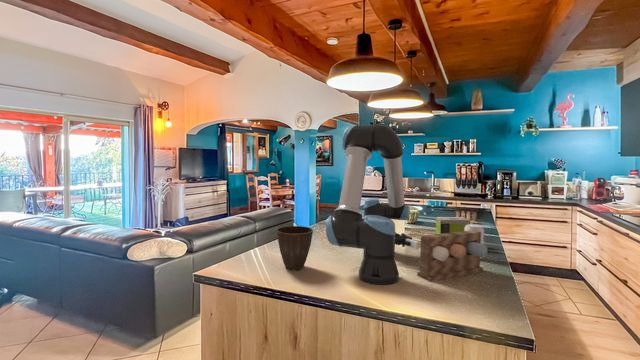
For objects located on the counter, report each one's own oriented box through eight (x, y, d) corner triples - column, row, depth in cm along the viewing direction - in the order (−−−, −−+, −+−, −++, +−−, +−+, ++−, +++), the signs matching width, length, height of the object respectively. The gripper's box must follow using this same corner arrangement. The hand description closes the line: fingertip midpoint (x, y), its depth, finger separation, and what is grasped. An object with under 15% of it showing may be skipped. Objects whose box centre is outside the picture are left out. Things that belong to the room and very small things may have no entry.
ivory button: (438, 262, 123) (438, 248, 123) (421, 255, 131) (421, 243, 131) (448, 260, 125) (448, 247, 125) (430, 254, 134) (431, 241, 133)
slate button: (478, 258, 129) (478, 245, 128) (459, 252, 137) (459, 240, 137) (487, 256, 131) (487, 244, 131) (468, 250, 139) (468, 238, 139)
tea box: (463, 243, 181) (464, 216, 180) (470, 248, 171) (471, 220, 170) (435, 242, 183) (435, 216, 182) (439, 247, 173) (440, 219, 172)
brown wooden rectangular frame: (430, 281, 124) (431, 239, 123) (417, 275, 130) (418, 235, 129) (482, 271, 136) (484, 232, 135) (468, 266, 142) (469, 229, 141)
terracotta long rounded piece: (456, 259, 127) (456, 246, 127) (438, 253, 135) (438, 240, 135) (465, 257, 129) (466, 244, 129) (447, 251, 137) (448, 239, 137)
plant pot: (317, 263, 144) (317, 227, 143) (306, 275, 130) (306, 234, 129) (284, 260, 148) (284, 225, 147) (270, 271, 134) (270, 232, 133)
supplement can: (477, 255, 160) (478, 224, 159) (486, 260, 151) (487, 227, 150) (460, 255, 159) (461, 223, 158) (468, 260, 151) (469, 227, 150)
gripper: (393, 240, 161) (429, 252, 140) (371, 243, 156) (404, 256, 135) (394, 225, 161) (429, 235, 140) (371, 227, 155) (405, 238, 134)
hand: (417, 245), depth 137 cm, fingers closed
